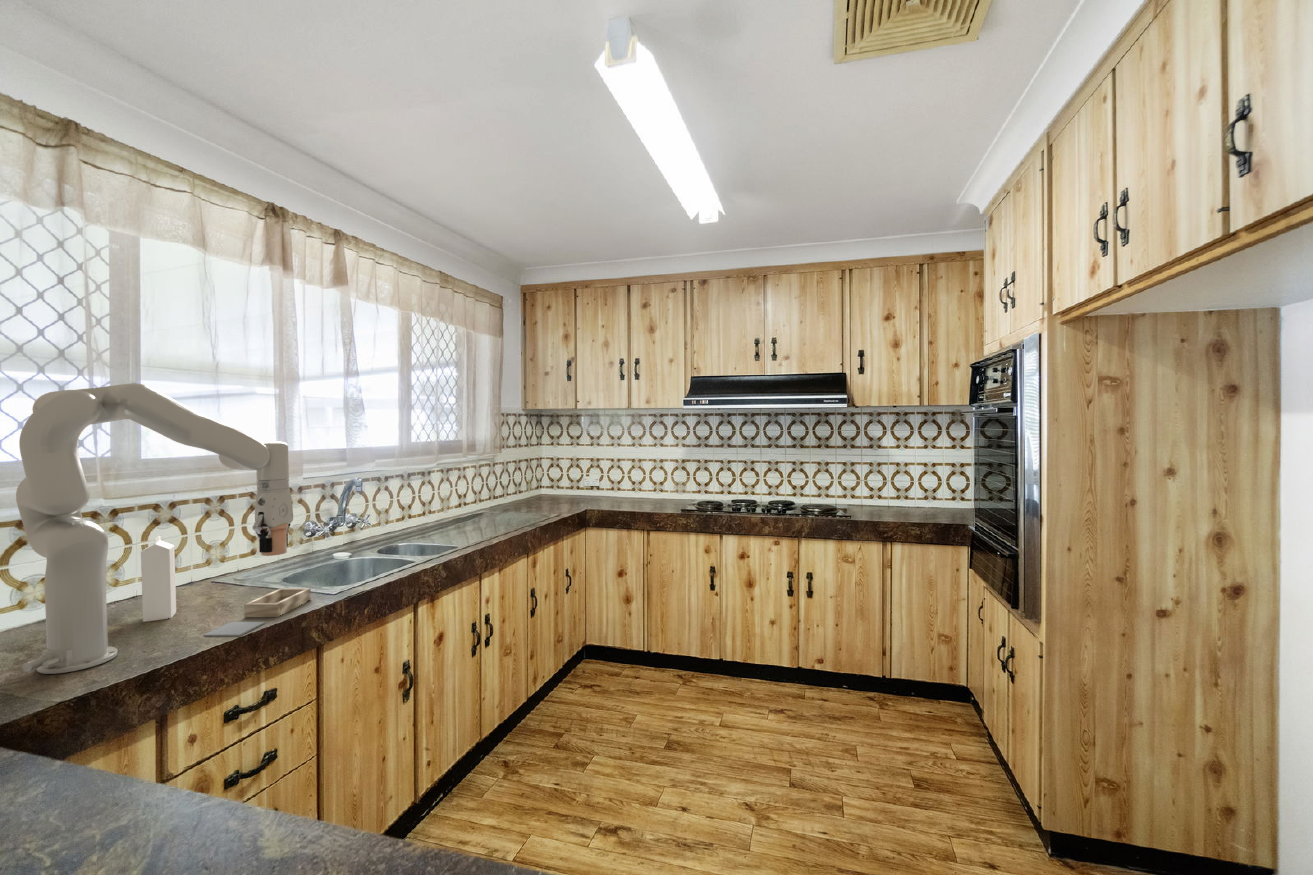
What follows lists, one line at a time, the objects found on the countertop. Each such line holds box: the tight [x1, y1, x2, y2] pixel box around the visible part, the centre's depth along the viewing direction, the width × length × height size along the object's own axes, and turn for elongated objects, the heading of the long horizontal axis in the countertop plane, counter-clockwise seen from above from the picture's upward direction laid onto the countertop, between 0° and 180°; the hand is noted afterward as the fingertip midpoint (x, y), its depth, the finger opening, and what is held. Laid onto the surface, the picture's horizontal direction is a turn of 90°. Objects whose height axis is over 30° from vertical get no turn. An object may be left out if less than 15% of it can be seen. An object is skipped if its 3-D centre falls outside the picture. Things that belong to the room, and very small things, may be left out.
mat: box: [203, 621, 266, 637], centre depth 148 cm, size 9×9×1 cm
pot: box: [260, 523, 290, 557], centre depth 163 cm, size 7×7×8 cm
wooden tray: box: [243, 587, 312, 618], centre depth 165 cm, size 15×9×4 cm, turn 0°
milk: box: [140, 535, 177, 623], centre depth 158 cm, size 6×6×22 cm
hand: (274, 549), depth 163 cm, fingers closed on pot, 6 cm apart
